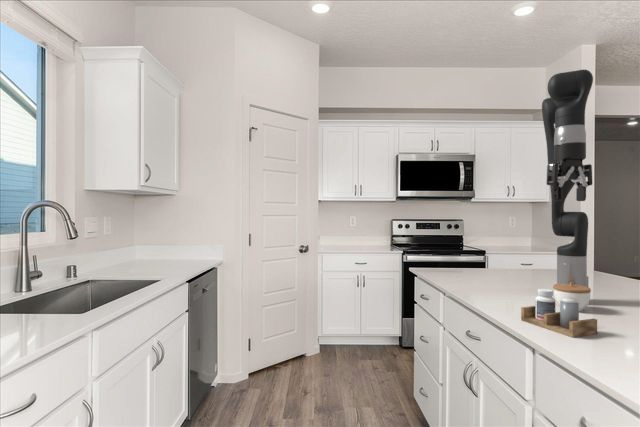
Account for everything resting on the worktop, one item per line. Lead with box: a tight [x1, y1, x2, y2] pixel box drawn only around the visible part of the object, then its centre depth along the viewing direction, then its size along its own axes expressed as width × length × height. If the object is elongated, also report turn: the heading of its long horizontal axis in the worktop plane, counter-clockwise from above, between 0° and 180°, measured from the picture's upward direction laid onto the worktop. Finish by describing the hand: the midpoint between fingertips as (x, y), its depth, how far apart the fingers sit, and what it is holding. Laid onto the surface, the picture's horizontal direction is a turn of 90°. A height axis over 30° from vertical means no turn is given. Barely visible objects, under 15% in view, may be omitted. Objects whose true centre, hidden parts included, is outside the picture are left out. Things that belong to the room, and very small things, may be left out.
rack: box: [520, 305, 598, 338], centre depth 112 cm, size 9×17×4 cm, turn 18°
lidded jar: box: [552, 282, 592, 313], centre depth 131 cm, size 11×11×9 cm
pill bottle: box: [534, 288, 556, 321], centre depth 116 cm, size 5×5×9 cm
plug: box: [559, 297, 580, 329], centre depth 108 cm, size 4×4×8 cm
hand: (569, 201), depth 107 cm, fingers open, 8 cm apart
